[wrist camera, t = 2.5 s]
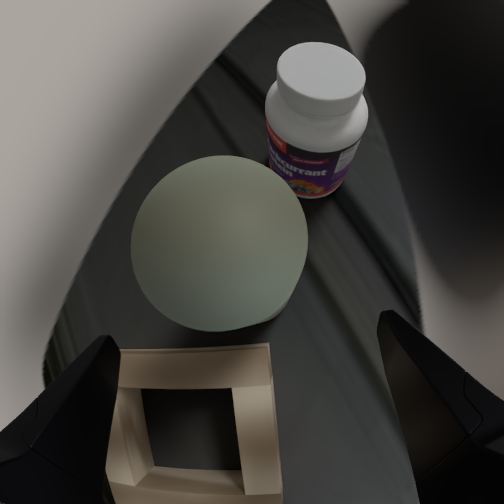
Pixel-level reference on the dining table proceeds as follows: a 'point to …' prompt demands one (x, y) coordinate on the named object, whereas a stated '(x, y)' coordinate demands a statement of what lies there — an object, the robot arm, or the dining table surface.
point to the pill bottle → (315, 117)
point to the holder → (196, 377)
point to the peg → (219, 244)
